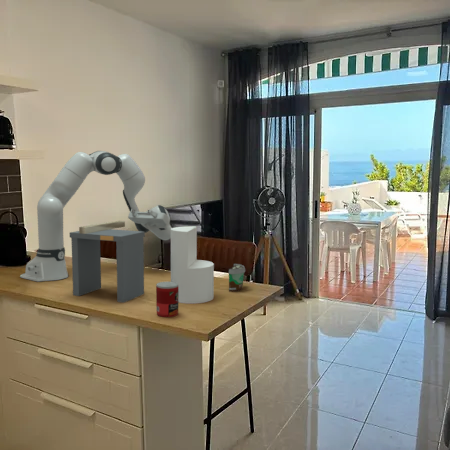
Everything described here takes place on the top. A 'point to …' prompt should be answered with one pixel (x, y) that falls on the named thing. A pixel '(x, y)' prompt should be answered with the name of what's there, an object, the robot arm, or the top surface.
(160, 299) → the canned food
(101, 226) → the bar
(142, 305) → the top surface
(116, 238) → the grey step stool
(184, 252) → the white stepped pillar
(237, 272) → the food container
